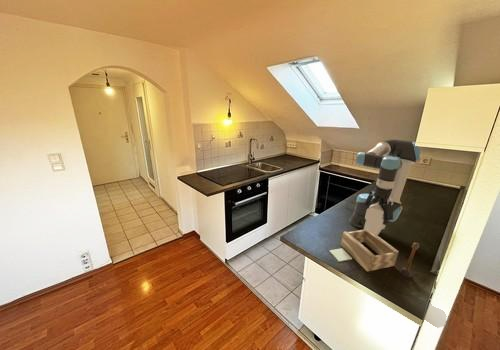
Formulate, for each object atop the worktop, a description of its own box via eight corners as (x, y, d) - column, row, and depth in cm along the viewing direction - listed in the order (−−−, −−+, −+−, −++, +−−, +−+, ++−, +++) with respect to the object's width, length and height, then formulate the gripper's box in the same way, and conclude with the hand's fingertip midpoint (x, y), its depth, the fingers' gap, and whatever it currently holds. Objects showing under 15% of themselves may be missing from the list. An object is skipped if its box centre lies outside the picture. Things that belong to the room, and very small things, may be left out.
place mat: (342, 248, 126) (342, 248, 126) (352, 259, 118) (352, 258, 118) (329, 251, 124) (329, 250, 124) (338, 261, 116) (338, 261, 116)
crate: (364, 241, 134) (367, 228, 131) (393, 265, 114) (398, 251, 111) (340, 244, 130) (343, 231, 127) (367, 271, 110) (371, 256, 107)
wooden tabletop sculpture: (402, 268, 113) (413, 238, 106) (412, 274, 109) (424, 243, 102) (398, 273, 109) (409, 242, 102) (408, 279, 106) (420, 247, 99)
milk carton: (363, 230, 117) (370, 200, 110) (367, 225, 121) (375, 196, 115) (377, 236, 112) (385, 205, 105) (381, 230, 117) (389, 200, 110)
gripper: (362, 179, 116) (354, 213, 124) (397, 196, 96) (385, 236, 104) (373, 178, 118) (364, 212, 126) (409, 195, 98) (397, 234, 106)
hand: (374, 223), depth 115 cm, fingers closed on milk carton, 10 cm apart
